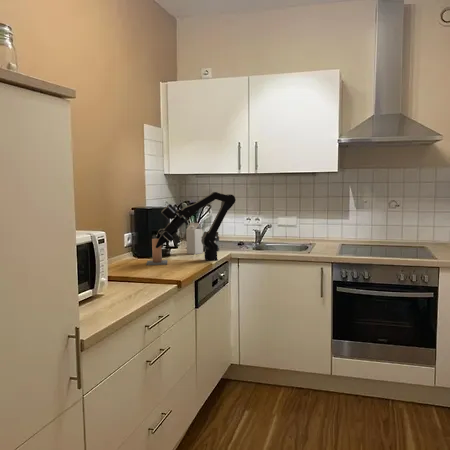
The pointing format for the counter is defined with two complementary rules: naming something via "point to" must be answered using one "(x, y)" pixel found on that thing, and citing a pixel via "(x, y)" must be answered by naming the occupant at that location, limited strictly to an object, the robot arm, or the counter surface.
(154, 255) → the brown rounded tapered cylinder
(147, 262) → the gray panel
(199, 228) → the milk carton
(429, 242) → the counter surface
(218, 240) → the supplement container
